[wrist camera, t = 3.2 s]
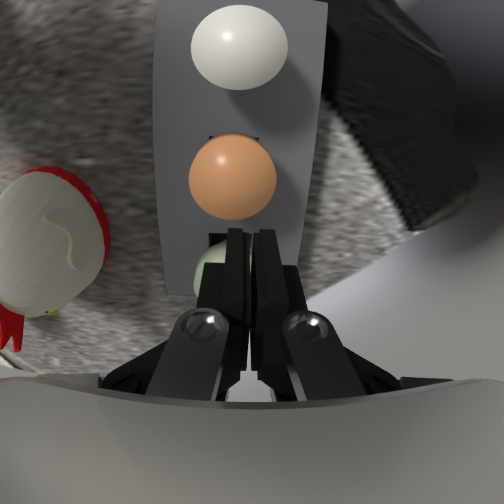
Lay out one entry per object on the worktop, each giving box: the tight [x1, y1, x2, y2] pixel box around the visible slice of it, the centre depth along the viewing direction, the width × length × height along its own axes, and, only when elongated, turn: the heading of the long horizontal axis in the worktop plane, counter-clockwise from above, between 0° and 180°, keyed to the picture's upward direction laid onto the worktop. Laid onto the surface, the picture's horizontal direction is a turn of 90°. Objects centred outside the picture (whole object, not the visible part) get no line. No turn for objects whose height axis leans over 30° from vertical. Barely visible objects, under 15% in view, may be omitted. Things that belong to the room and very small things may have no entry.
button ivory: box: [191, 5, 288, 90], centre depth 15 cm, size 5×5×5 cm
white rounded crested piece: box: [0, 166, 110, 352], centre depth 20 cm, size 14×14×15 cm
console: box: [152, 0, 328, 296], centre depth 23 cm, size 26×12×3 cm, turn 177°
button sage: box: [194, 239, 252, 298], centre depth 24 cm, size 5×5×5 cm
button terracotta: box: [189, 132, 276, 220], centre depth 20 cm, size 5×5×5 cm
